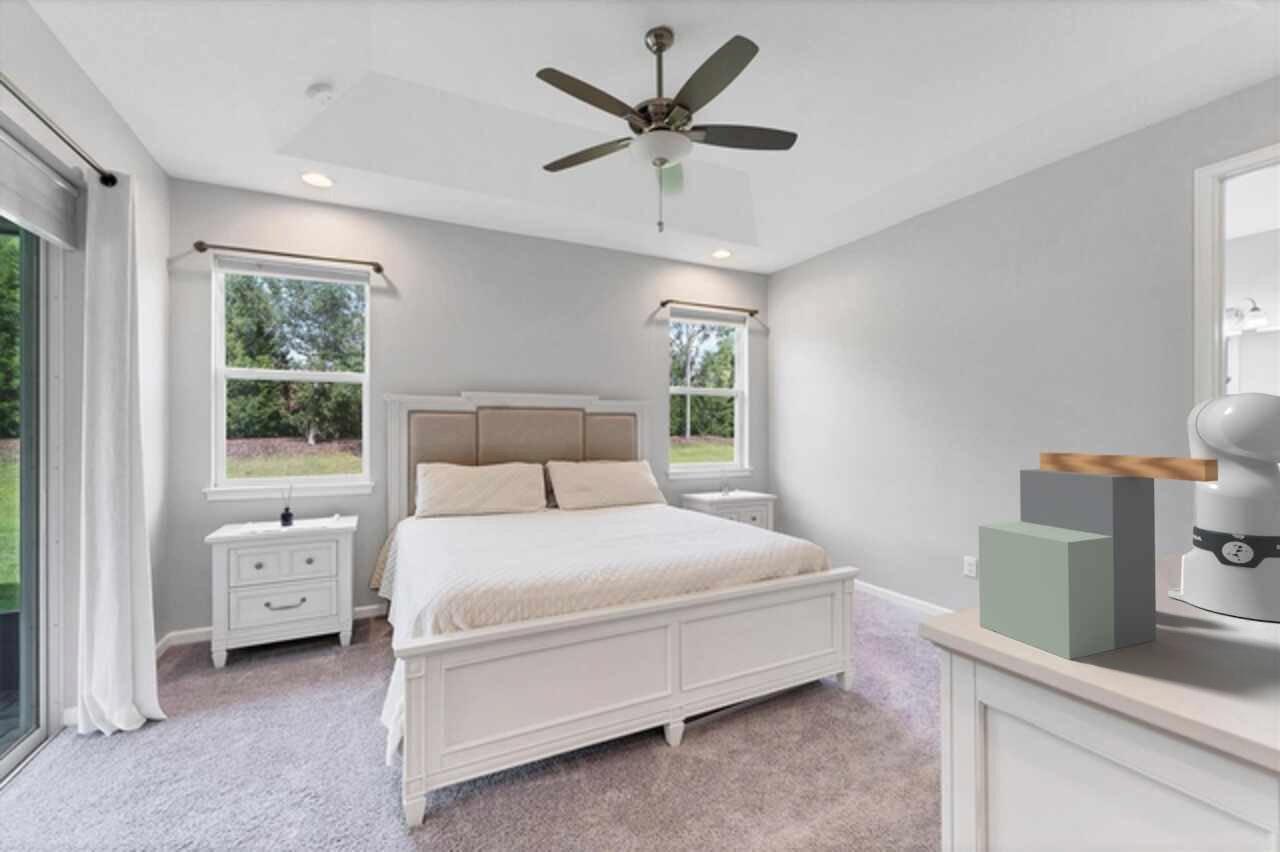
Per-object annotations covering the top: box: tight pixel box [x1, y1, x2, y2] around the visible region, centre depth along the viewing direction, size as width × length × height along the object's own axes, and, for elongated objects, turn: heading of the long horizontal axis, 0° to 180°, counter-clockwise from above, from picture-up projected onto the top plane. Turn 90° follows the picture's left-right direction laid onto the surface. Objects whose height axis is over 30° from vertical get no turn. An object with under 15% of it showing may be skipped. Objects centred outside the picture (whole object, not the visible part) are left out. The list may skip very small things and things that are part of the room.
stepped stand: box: [978, 468, 1157, 660], centre depth 88 cm, size 14×20×26 cm
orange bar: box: [1039, 451, 1218, 482], centre depth 85 cm, size 22×3×3 cm, turn 19°
